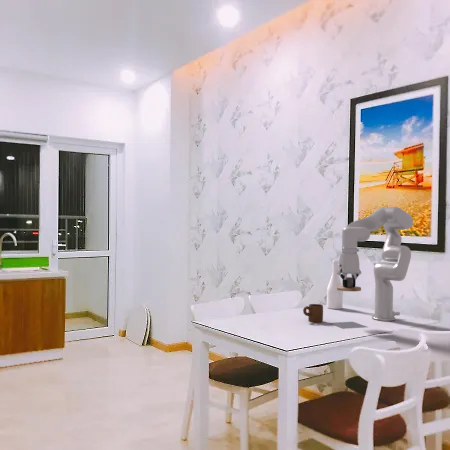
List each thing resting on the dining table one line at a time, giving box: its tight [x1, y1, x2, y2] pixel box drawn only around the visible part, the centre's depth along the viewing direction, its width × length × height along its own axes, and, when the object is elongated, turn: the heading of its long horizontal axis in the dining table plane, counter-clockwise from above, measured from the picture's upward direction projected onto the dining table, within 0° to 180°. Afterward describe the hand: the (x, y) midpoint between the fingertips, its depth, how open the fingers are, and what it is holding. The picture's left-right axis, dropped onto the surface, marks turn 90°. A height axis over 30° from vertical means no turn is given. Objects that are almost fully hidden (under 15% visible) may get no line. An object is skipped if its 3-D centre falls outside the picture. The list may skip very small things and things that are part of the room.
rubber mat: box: [328, 321, 368, 330], centre depth 256 cm, size 15×14×1 cm
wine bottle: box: [326, 259, 344, 310], centre depth 311 cm, size 10×10×30 cm
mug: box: [302, 303, 324, 324], centre depth 263 cm, size 12×8×9 cm, turn 119°
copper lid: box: [337, 276, 362, 292], centre depth 256 cm, size 12×12×6 cm
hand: (349, 286), depth 256 cm, fingers closed on copper lid, 4 cm apart
